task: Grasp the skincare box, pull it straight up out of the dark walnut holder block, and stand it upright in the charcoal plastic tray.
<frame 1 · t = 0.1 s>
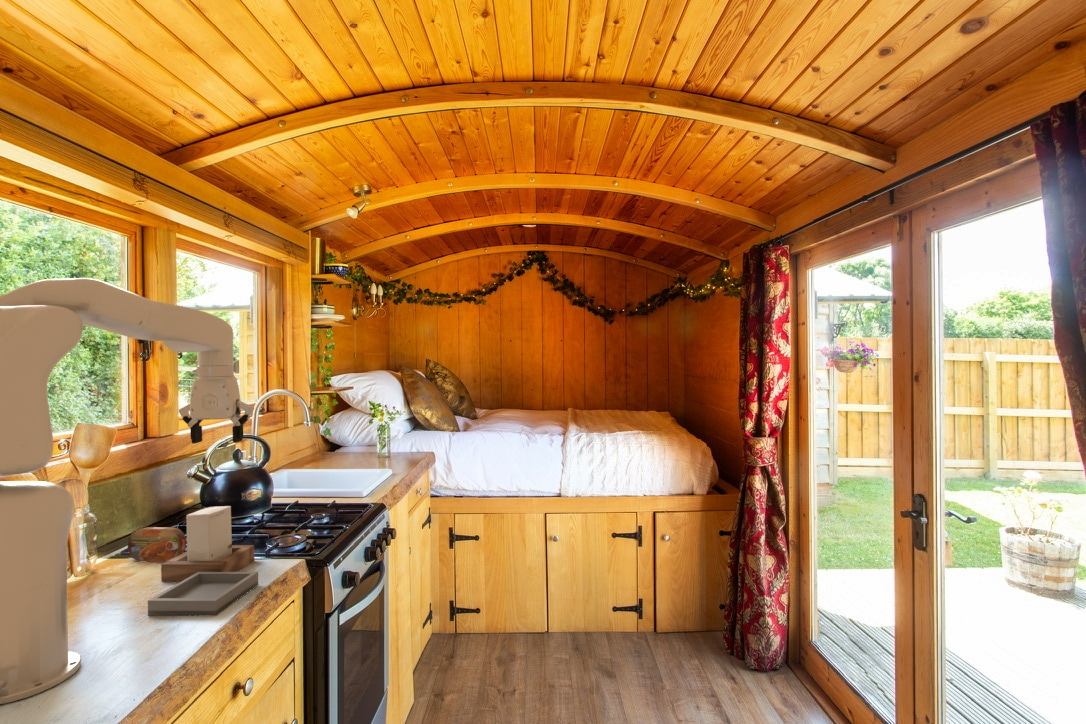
hand: (217, 442, 126), 31 cm above the countertop, tool pointing down, fingers open, 9 cm apart
tin: (157, 560, 132), on the countertop
charcoal tray: (206, 599, 109), on the countertop
skincare box: (210, 571, 124), resting in walnut holder
walnut holder: (210, 570, 124), on the countertop
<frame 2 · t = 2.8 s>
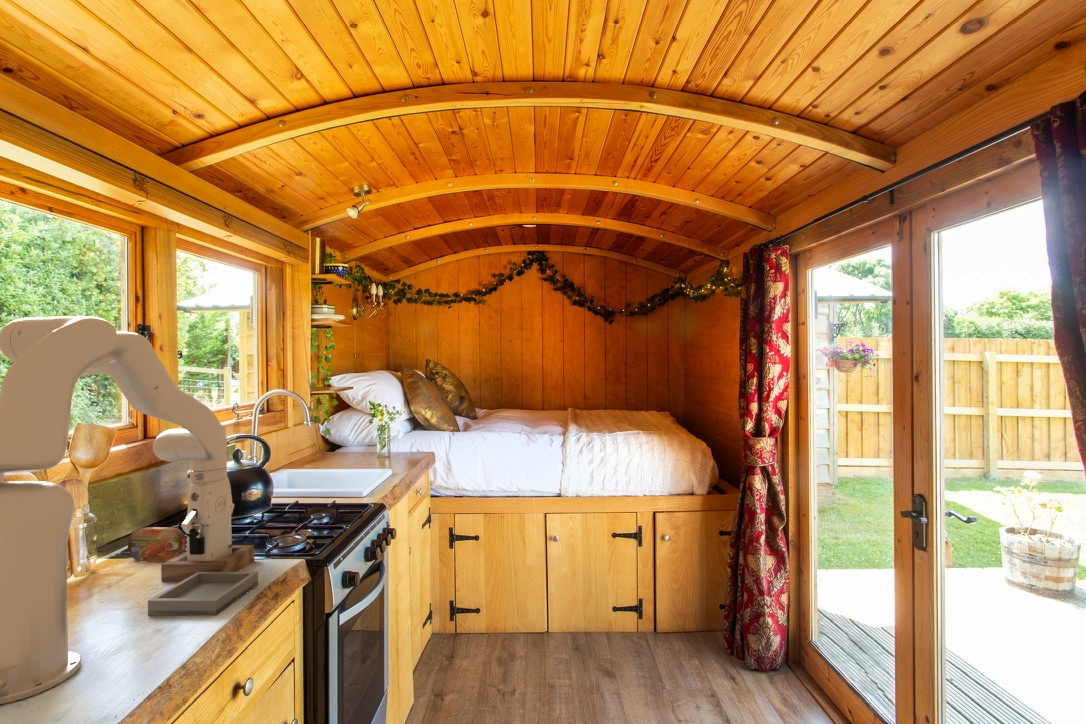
hand: (210, 546, 124), 6 cm above the countertop, tool pointing down, fingers closed on skincare box, 8 cm apart
skincare box: (210, 571, 124), resting in walnut holder, touching gripper
everything else where it was.
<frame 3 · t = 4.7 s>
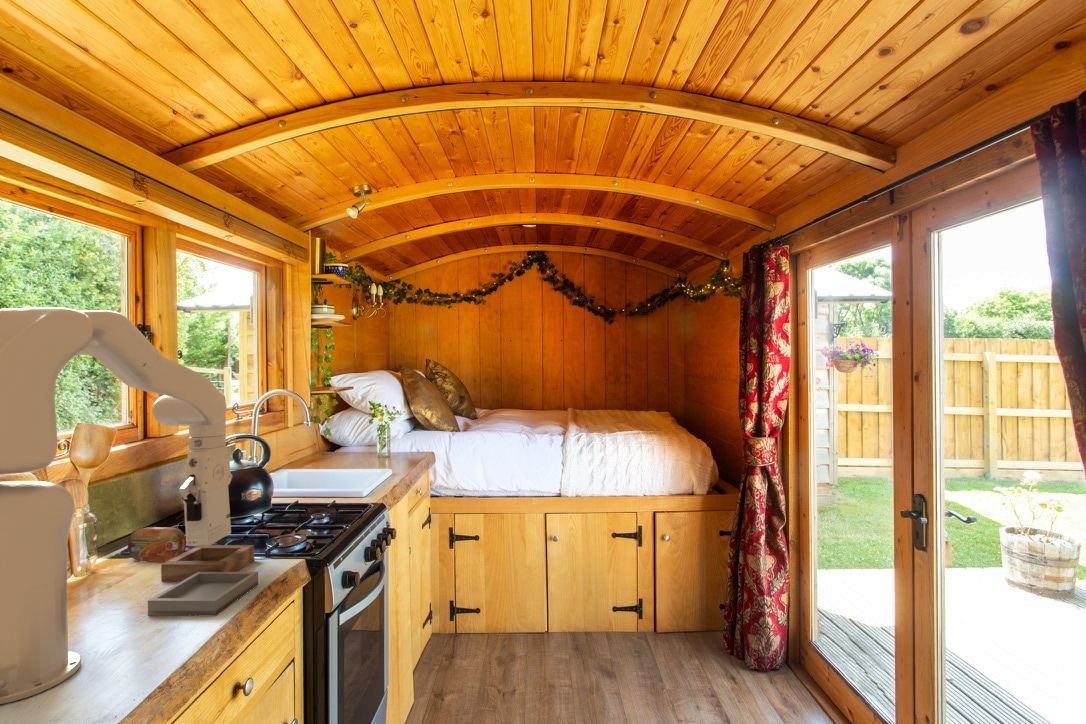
hand: (207, 515, 124), 14 cm above the countertop, tool pointing down, fingers closed on skincare box, 8 cm apart
skincare box: (209, 540, 124), point 7 cm above the countertop, touching gripper
everything else where it was.
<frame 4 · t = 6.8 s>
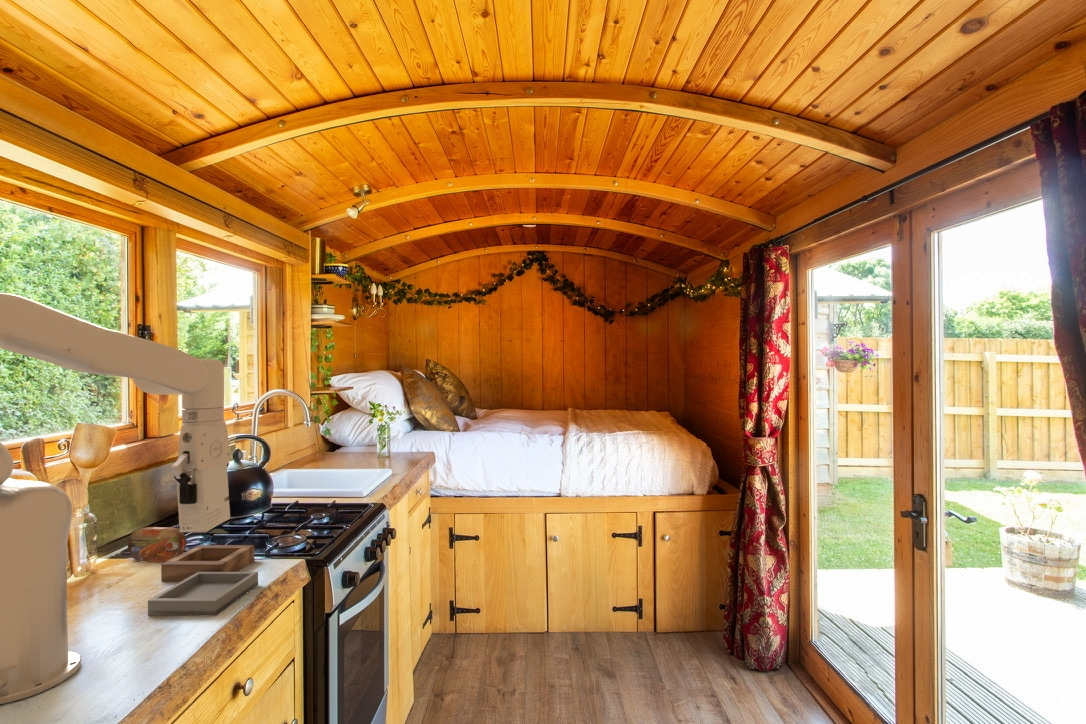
hand: (203, 497, 109), 22 cm above the countertop, tool pointing down, fingers closed on skincare box, 8 cm apart
skincare box: (205, 526, 110), point 15 cm above the countertop, touching gripper
everything else where it was.
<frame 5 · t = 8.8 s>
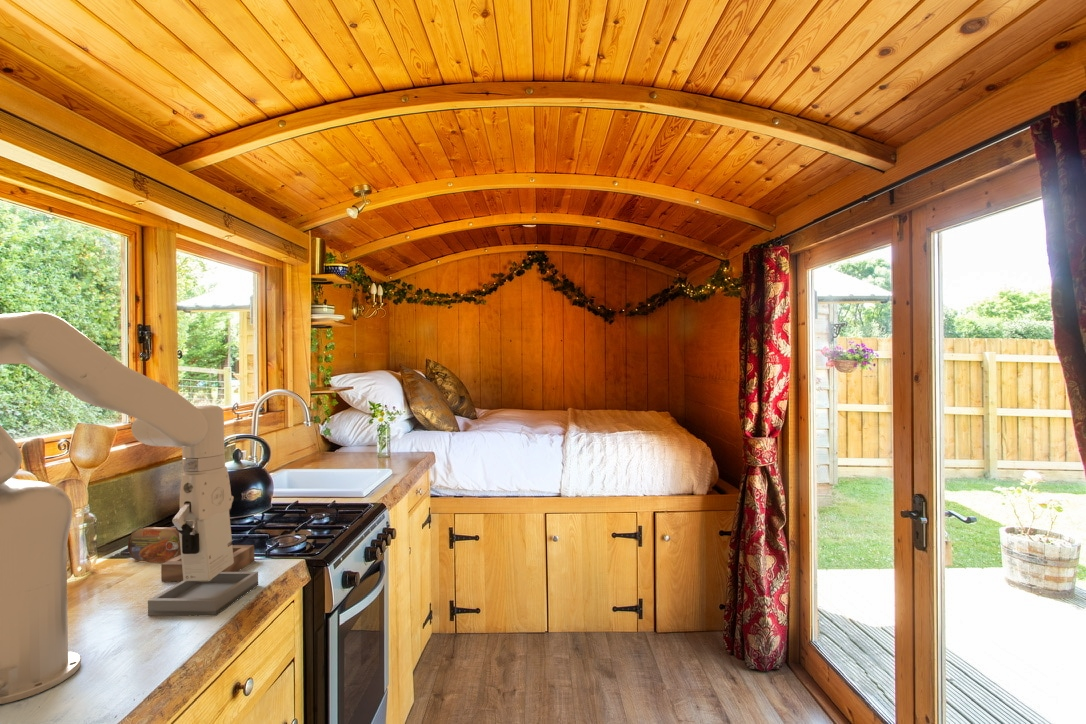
hand: (206, 545, 109), 12 cm above the countertop, tool pointing down, fingers closed on skincare box, 8 cm apart
skincare box: (209, 572, 110), point 5 cm above the countertop, touching gripper
everything else where it was.
when the fingers open (7 cm above the countertop, at t = 10.7 s): skincare box stays where it is, resting on charcoal tray.
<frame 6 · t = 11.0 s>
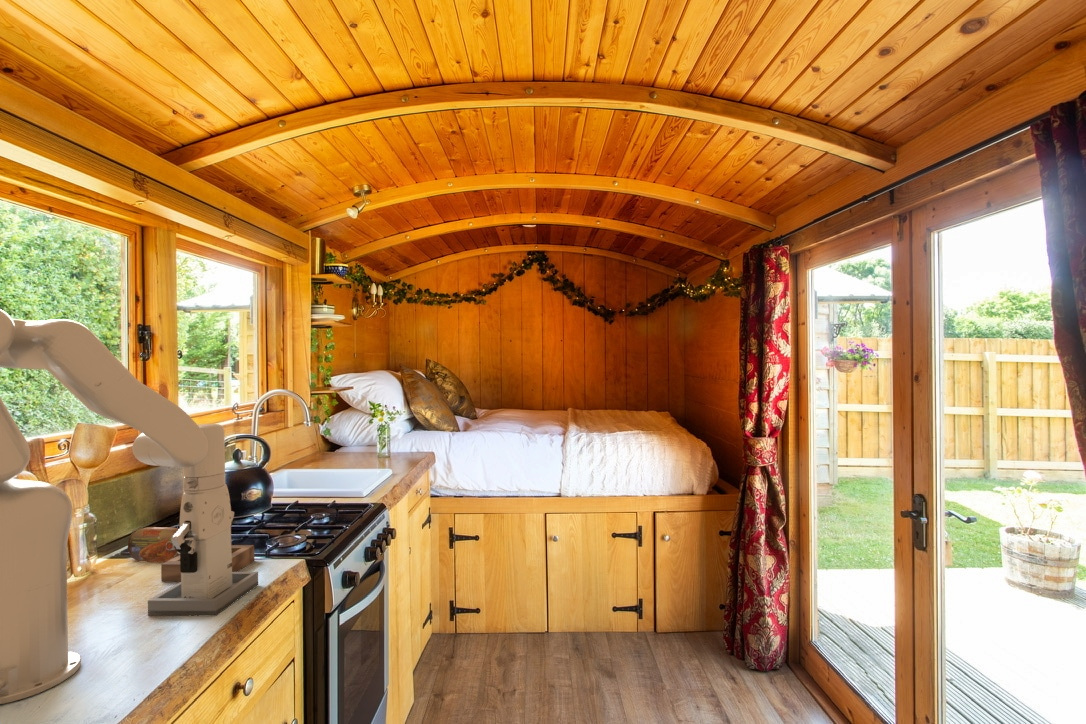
hand: (205, 562, 109), 8 cm above the countertop, tool pointing down, fingers open, 9 cm apart
skincare box: (207, 594, 109), point 1 cm above the countertop, touching charcoal tray, gripper
everything else where it was.
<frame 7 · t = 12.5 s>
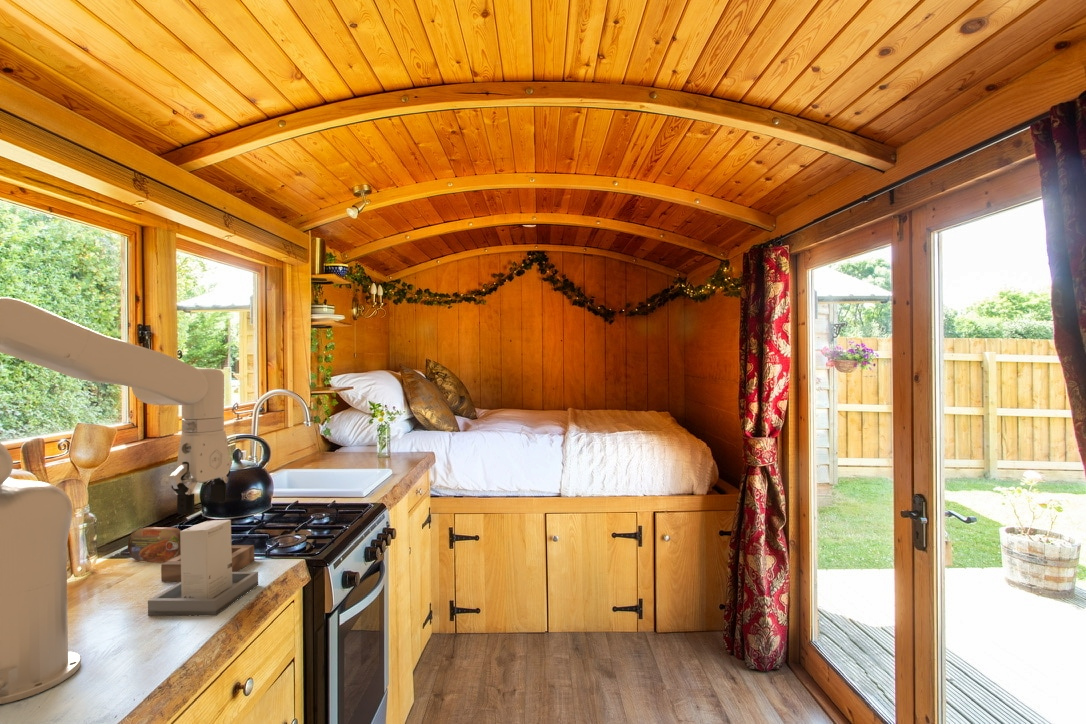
hand: (202, 507, 108), 20 cm above the countertop, tool pointing down, fingers open, 9 cm apart
skincare box: (207, 594, 109), point 1 cm above the countertop, touching charcoal tray
everything else where it was.
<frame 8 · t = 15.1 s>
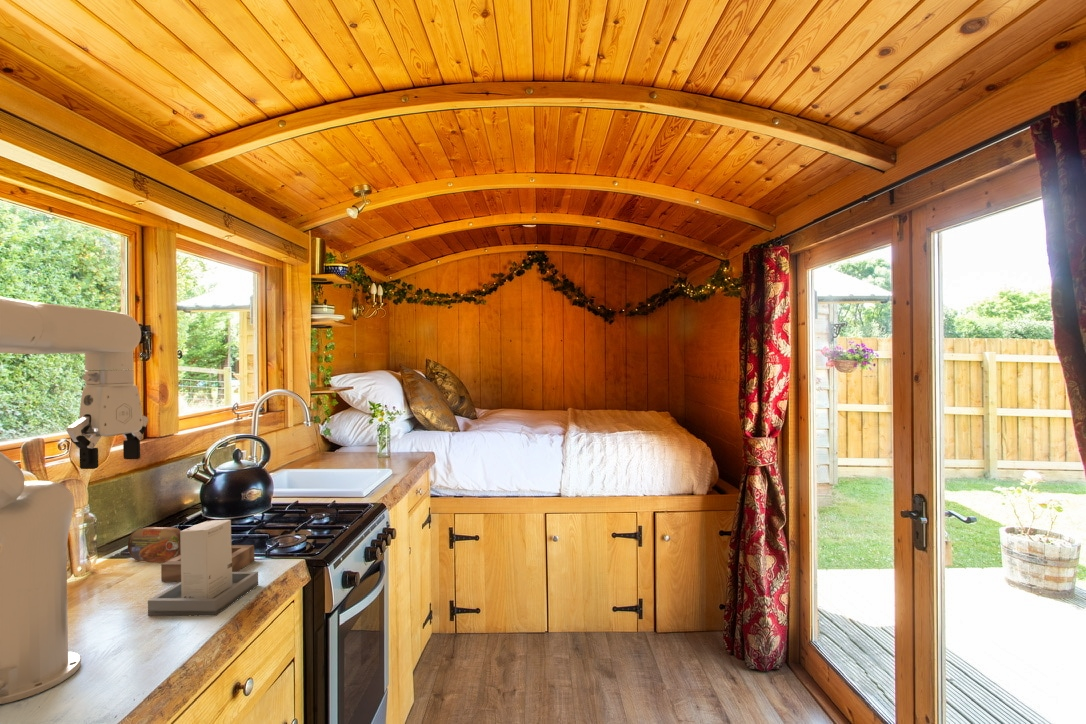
hand: (111, 463, 103), 30 cm above the countertop, tool pointing down, fingers open, 9 cm apart
nothing on the countertop moved.
at the end: skincare box inside the target area on the charcoal tray (0.4 cm from its centre), point 0.8 cm above the charcoal tray's base; skincare box tilted 0°; the gripper is holding nothing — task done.
